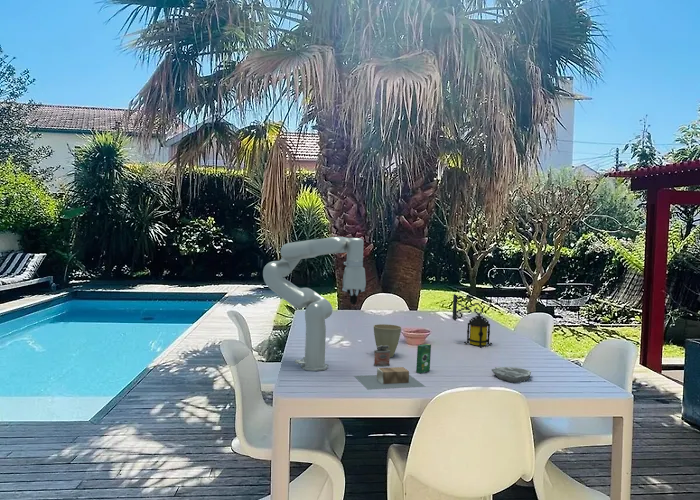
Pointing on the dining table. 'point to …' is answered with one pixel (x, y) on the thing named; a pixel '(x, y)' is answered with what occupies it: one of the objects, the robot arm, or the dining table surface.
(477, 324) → the wall lantern
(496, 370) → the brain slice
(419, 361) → the coffee box
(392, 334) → the plant pot
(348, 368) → the dining table surface
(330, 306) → the robot arm
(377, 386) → the slate mat
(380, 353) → the lighter
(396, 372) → the tan rectangular block
